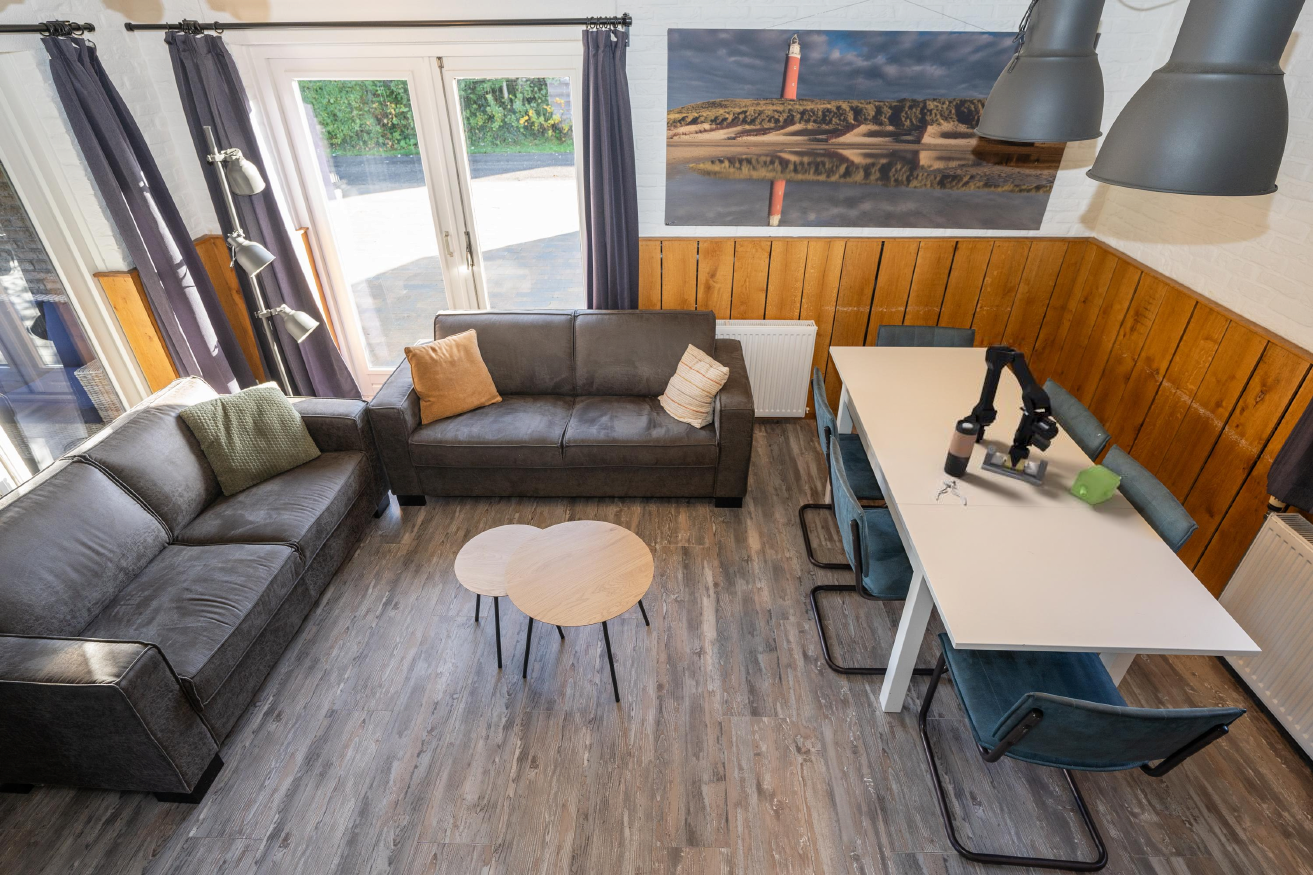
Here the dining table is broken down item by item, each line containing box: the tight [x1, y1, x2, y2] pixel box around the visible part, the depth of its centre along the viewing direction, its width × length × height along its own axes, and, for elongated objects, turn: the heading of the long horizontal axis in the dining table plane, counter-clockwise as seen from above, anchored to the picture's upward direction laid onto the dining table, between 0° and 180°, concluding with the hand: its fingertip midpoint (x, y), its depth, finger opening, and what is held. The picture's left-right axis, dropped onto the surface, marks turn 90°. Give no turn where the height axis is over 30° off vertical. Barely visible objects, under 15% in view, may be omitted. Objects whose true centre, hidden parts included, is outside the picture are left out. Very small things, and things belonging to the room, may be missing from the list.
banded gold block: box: [1004, 453, 1027, 473], centre depth 244 cm, size 6×5×6 cm
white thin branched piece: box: [934, 475, 966, 506], centre depth 233 cm, size 10×2×15 cm
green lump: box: [1069, 464, 1122, 506], centre depth 230 cm, size 18×10×10 cm, turn 116°
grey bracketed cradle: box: [980, 444, 1049, 487], centre depth 244 cm, size 20×10×6 cm, turn 58°
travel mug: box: [943, 418, 980, 478], centre depth 239 cm, size 8×8×20 cm
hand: (1014, 462), depth 244 cm, fingers open, 6 cm apart
